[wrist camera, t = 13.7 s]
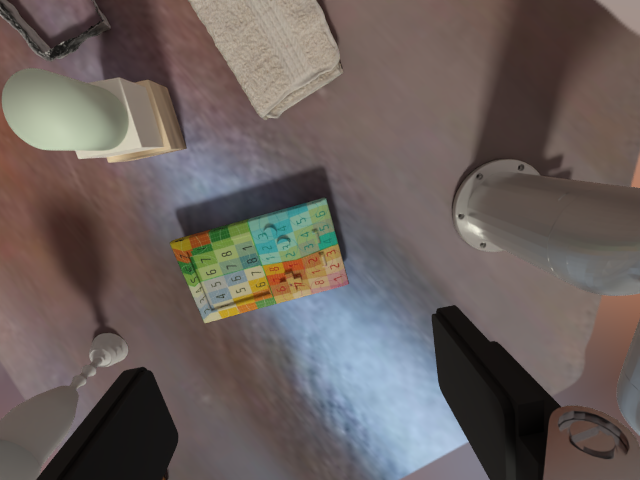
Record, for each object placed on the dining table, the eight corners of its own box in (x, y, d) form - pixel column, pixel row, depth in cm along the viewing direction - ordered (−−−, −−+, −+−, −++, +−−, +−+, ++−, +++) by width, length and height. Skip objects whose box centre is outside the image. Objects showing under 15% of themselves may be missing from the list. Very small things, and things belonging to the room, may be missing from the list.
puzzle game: (350, 286, 41) (202, 327, 42) (345, 272, 46) (212, 309, 46) (327, 200, 38) (166, 245, 38) (324, 194, 42) (180, 234, 43)
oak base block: (167, 88, 37) (147, 79, 33) (187, 148, 39) (171, 149, 35) (109, 100, 37) (81, 94, 33) (131, 160, 39) (108, 162, 35)
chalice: (93, 371, 47) (-25, 500, 30) (76, 332, 45) (-61, 446, 28) (142, 363, 47) (52, 487, 30) (127, 323, 45) (21, 432, 28)
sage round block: (115, 80, 28) (62, 60, 22) (136, 144, 29) (92, 142, 24) (55, 92, 28) (-13, 76, 22) (79, 155, 29) (22, 156, 24)
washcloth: (267, 127, 40) (264, 126, 37) (172, -20, 35) (160, -36, 32) (348, 71, 38) (353, 65, 35) (262, -90, 33) (258, -112, 30)
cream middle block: (145, 87, 33) (119, 77, 28) (164, 147, 34) (141, 147, 30) (88, 97, 33) (51, 89, 28) (109, 157, 34) (78, 158, 30)
